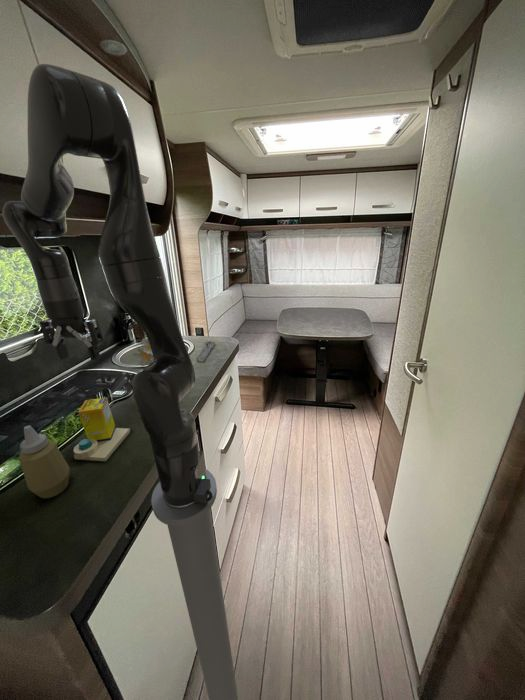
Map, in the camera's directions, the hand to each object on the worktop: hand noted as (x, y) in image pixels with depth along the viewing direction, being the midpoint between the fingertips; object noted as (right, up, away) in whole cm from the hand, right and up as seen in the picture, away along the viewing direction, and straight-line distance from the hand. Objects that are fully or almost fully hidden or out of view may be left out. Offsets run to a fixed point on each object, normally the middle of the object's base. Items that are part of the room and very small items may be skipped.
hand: (80, 358), depth 72 cm
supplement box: (0, -23, +10) cm, 25 cm away
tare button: (-1, -24, +3) cm, 24 cm away
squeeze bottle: (-2, -31, -6) cm, 32 cm away
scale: (+2, -25, +8) cm, 26 cm away
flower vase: (+13, -15, +31) cm, 37 cm away
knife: (+18, +1, +69) cm, 72 cm away
